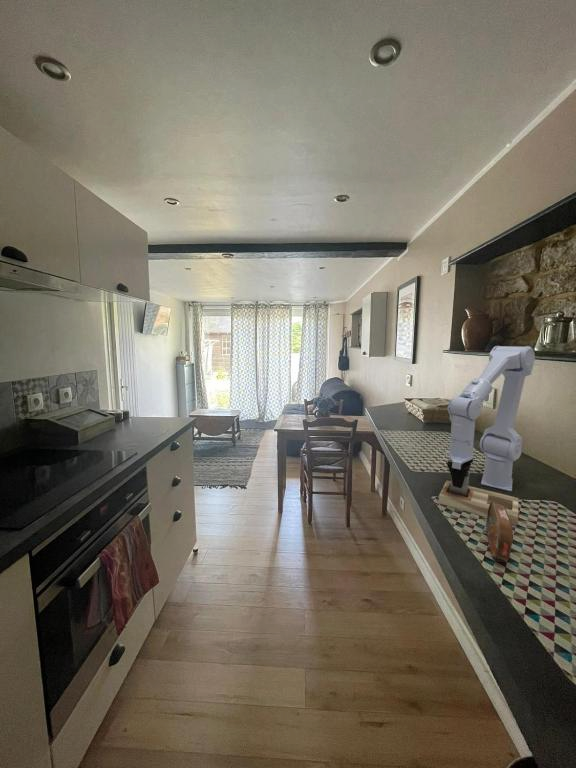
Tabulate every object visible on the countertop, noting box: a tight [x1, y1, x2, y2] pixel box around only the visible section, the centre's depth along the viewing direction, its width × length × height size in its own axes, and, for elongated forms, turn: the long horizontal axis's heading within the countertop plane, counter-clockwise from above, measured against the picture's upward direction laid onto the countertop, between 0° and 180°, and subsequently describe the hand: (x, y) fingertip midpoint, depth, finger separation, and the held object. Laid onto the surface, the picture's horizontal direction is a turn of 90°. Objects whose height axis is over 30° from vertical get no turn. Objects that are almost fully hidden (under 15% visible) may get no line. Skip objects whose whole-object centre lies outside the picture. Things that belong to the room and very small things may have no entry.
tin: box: [485, 502, 514, 561], centre depth 68 cm, size 15×3×8 cm, turn 153°
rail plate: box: [438, 480, 519, 527], centre depth 85 cm, size 11×18×3 cm, turn 52°
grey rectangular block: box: [450, 471, 471, 497], centre depth 87 cm, size 4×4×7 cm
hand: (458, 483), depth 88 cm, fingers closed on grey rectangular block, 4 cm apart
